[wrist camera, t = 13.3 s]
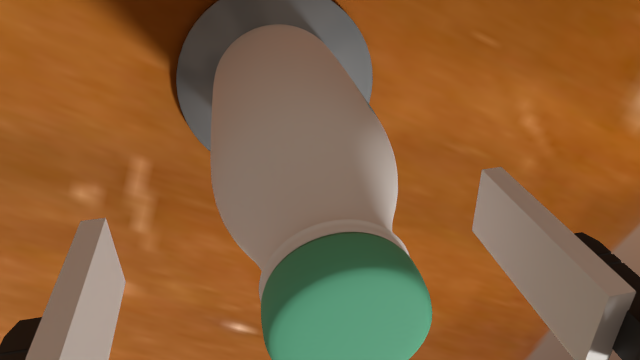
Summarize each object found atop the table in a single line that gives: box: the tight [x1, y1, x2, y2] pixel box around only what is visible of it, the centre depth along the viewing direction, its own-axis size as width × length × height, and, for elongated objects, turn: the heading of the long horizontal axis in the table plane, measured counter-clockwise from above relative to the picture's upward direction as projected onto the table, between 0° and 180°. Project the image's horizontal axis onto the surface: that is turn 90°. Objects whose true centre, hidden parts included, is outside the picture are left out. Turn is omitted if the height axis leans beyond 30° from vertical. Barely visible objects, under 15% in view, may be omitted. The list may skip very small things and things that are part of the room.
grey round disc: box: [176, 0, 373, 151], centre depth 30 cm, size 12×12×1 cm
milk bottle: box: [211, 24, 432, 360], centre depth 21 cm, size 8×8×20 cm
